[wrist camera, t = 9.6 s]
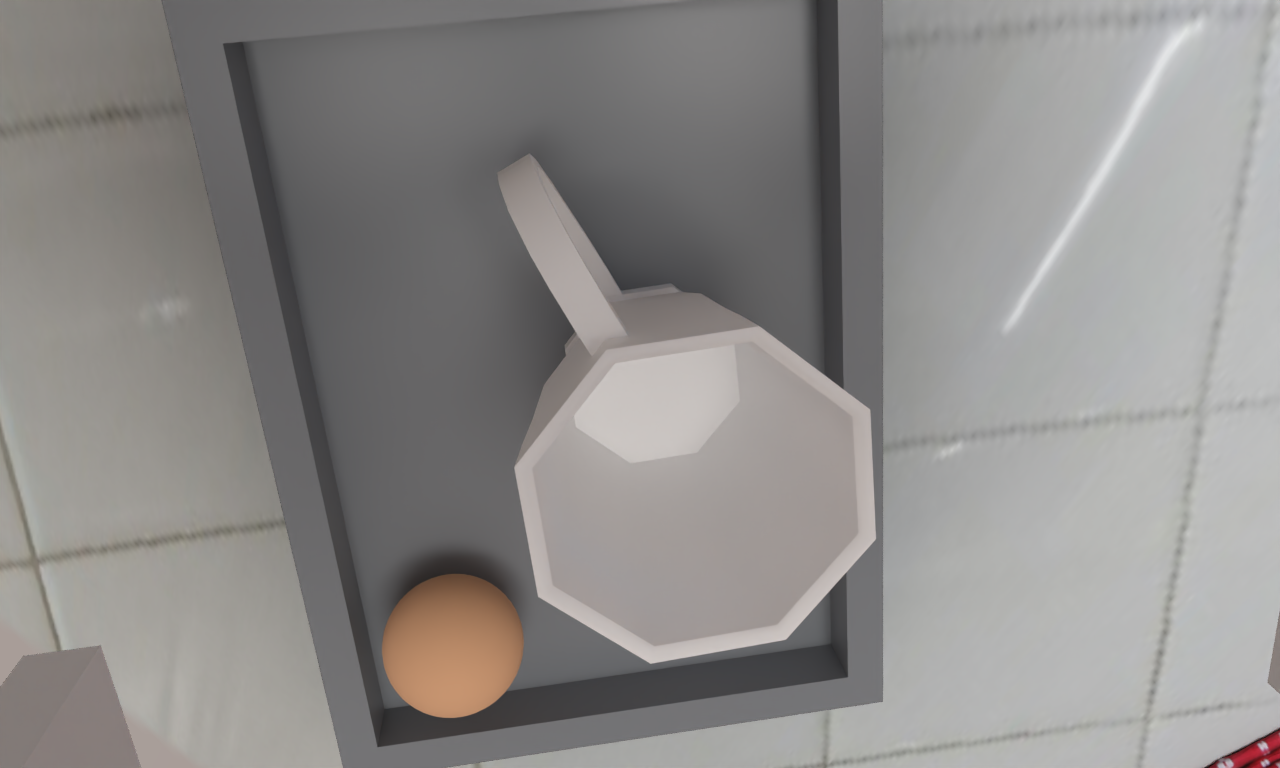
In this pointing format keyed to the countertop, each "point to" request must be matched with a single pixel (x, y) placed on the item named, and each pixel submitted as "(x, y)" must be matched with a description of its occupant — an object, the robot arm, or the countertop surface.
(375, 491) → the tray
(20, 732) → the robot arm
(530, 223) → the cup
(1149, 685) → the countertop surface
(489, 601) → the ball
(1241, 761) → the dish towel
